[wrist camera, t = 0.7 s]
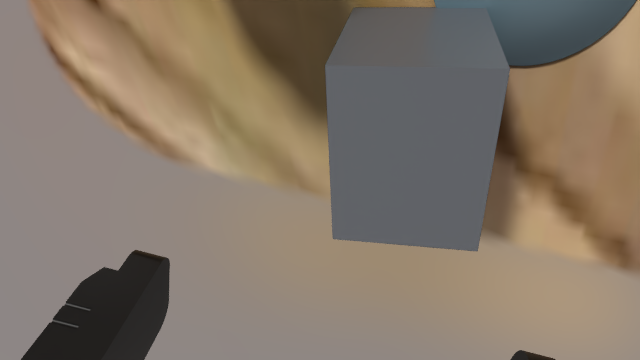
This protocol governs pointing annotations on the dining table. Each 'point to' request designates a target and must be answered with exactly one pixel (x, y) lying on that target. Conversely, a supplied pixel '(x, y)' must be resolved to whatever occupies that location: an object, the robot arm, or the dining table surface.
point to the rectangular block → (414, 125)
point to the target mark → (546, 25)
